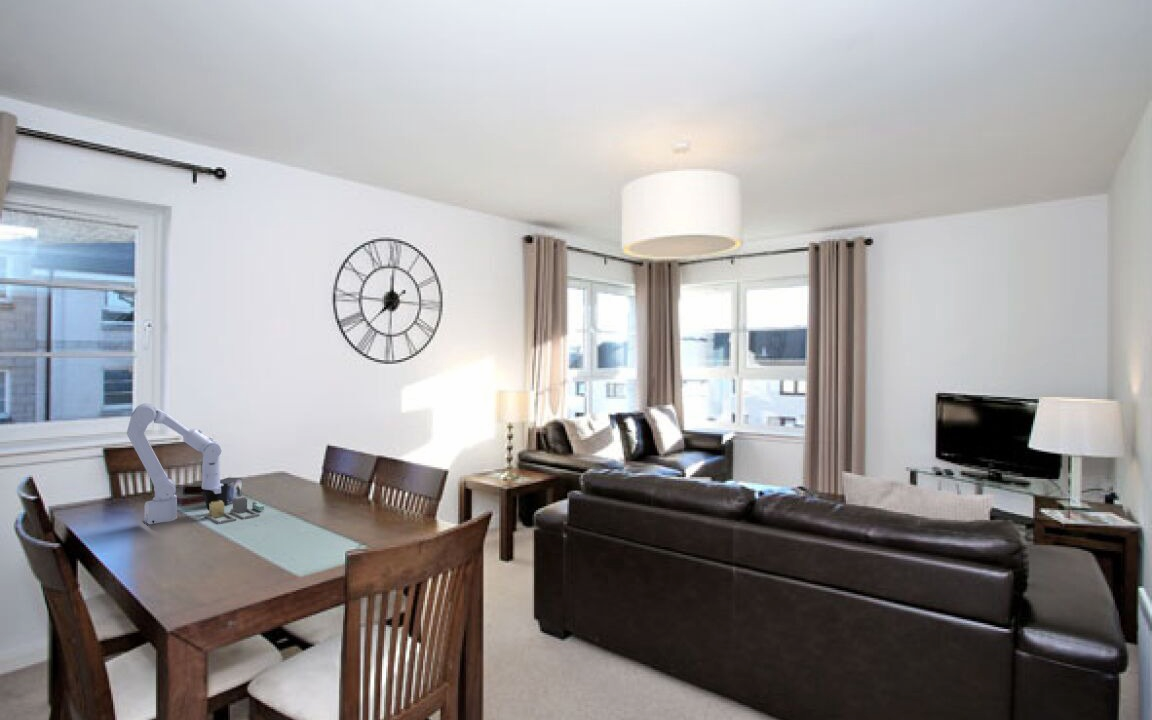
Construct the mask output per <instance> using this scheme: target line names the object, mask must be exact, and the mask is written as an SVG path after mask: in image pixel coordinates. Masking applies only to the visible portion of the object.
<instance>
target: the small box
mask: <svg viewBox="0 0 1152 720" xmlns="http://www.w3.org/2000/svg"><path fill="white" fill-rule="evenodd" d="M221 483H222V484H224V486H221V487H220V488H221V494H220V495H219V497H218V500H221V501H223V502H224V507H226V506H230V505H233V499H234V498H236V497H242V496H243V495H242V494H243V478H242V477H232V476H231V477H230V476H228V477H226V478H223V479H220V484H221ZM218 500H217V501H218Z"/></svg>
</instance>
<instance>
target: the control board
mask: <svg viewBox="0 0 1152 720" xmlns="http://www.w3.org/2000/svg"><path fill="white" fill-rule="evenodd" d="M247 512H248V513H250V514H248V515H245V516H244V515H241V513H236V512H234V511H233V508H230V510H229V513H226V512H225V511H224V516H223V517H226V518H228V519H224V520H221V521H220V520H218V519H217V518H213V517H211V516H209V512H207V514H205V518H207V519H209V520H211V521H213V522H214V523H216V524H218V525H220V524H228V523H233V522H236V521H237V518H236V517H238V519H242V520H247V519H253V518H258V517H260V516H261V514H260V513H258V512H257V511H255V510H251V509H250V508H248V507H247ZM230 514H232V515H233V516H232V515H230ZM234 516H236V517H234Z"/></svg>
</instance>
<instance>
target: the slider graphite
mask: <svg viewBox="0 0 1152 720" xmlns="http://www.w3.org/2000/svg"><path fill="white" fill-rule="evenodd" d="M247 508H248V498H247V497H246V496H244V495H242V497H236V498H234V499H233V503H232V509H233V511H234V512H236V513H238V514H242V513H247V512H248V511H247Z"/></svg>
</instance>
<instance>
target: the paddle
mask: <svg viewBox="0 0 1152 720" xmlns="http://www.w3.org/2000/svg"><path fill="white" fill-rule="evenodd" d="M251 503H252V505H251V506H252V507H251V508H252V511H258V512H262V511H265V506H264V505H263V504H260V503H259V501H253V502H251Z"/></svg>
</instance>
